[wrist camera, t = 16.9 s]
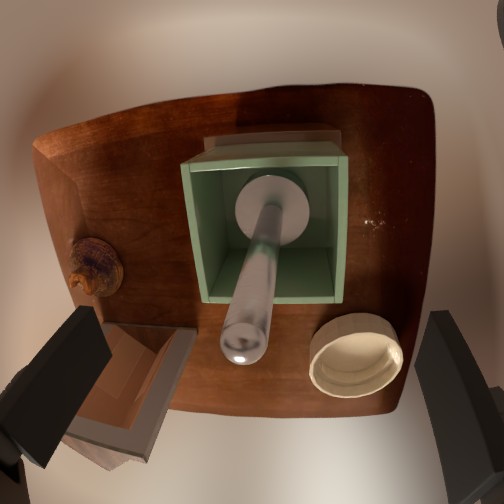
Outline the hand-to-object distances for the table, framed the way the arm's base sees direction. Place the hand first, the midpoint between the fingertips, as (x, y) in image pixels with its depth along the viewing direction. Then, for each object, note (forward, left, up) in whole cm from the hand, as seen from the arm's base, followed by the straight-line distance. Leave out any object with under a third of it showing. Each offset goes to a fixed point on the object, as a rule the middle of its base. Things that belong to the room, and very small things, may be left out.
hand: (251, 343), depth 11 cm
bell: (+34, +15, -35) cm, 51 cm away
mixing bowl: (-12, +32, -35) cm, 49 cm away
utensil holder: (0, 0, -35) cm, 35 cm away
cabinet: (+27, +33, -35) cm, 56 cm away
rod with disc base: (0, 0, -18) cm, 18 cm away
